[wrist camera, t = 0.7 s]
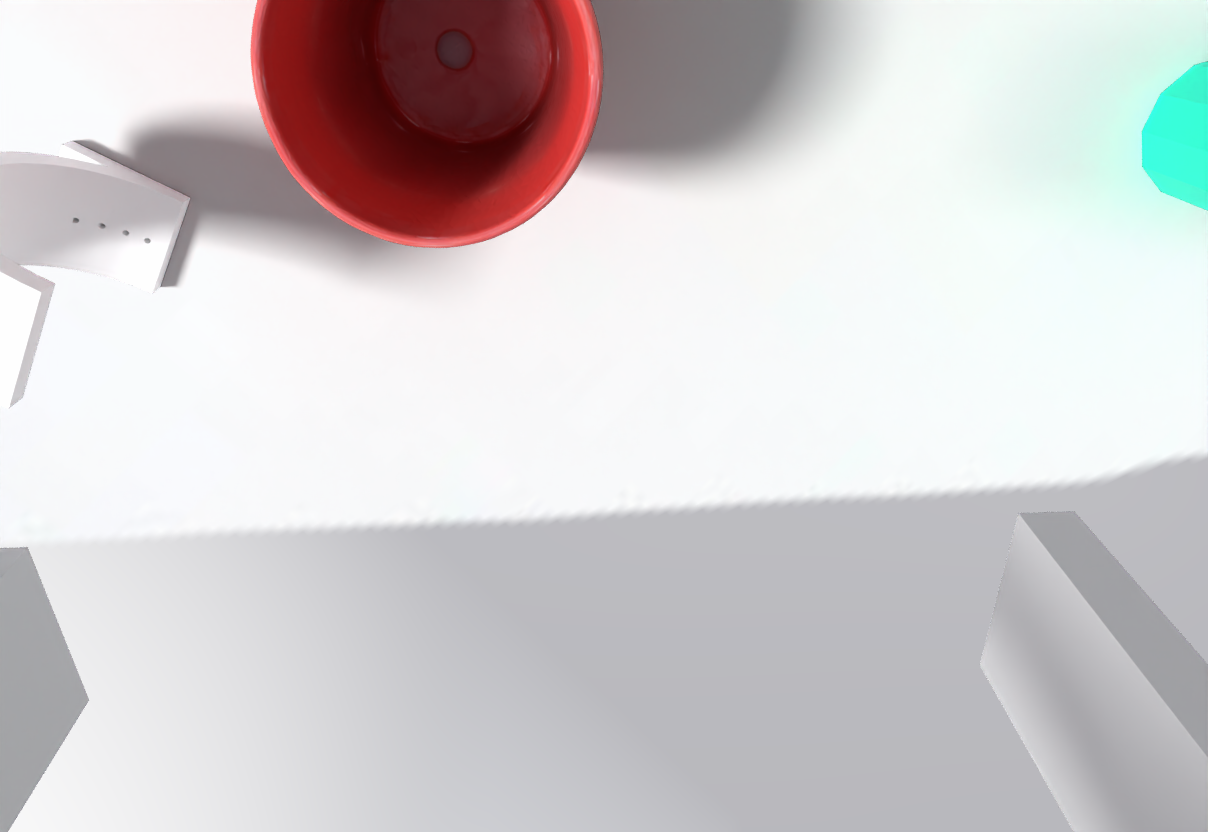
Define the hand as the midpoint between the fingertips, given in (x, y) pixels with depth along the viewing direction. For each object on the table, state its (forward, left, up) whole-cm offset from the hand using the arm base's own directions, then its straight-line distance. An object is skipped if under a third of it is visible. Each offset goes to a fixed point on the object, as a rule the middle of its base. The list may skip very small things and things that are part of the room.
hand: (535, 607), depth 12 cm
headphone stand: (-6, -19, -29) cm, 35 cm away
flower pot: (-6, -2, -29) cm, 30 cm away
